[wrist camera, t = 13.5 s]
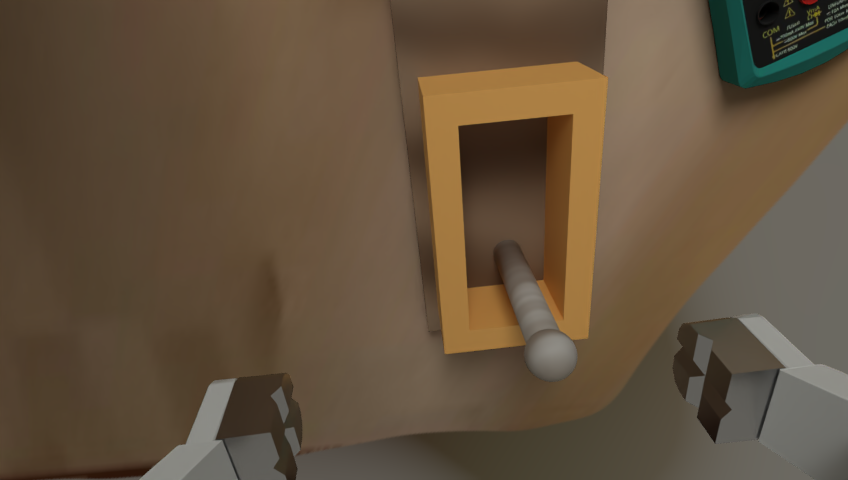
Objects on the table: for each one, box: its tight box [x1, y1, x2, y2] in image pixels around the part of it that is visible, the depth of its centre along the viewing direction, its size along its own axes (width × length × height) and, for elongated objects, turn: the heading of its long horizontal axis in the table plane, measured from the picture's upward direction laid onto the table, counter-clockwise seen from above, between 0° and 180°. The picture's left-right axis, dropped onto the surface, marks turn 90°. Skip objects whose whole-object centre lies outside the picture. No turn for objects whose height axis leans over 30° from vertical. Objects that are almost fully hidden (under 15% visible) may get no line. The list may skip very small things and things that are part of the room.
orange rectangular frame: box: [418, 62, 608, 354], centre depth 27 cm, size 14×8×4 cm, turn 5°
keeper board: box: [390, 0, 608, 382], centre depth 24 cm, size 22×10×12 cm, turn 6°
